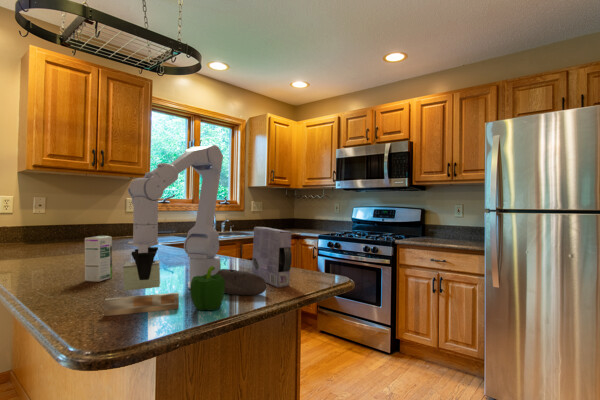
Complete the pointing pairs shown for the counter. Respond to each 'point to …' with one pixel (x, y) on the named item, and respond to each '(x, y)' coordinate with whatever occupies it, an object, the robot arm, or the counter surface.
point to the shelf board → (141, 304)
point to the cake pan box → (272, 255)
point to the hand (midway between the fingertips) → (145, 277)
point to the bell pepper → (207, 291)
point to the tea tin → (133, 279)
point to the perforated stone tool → (242, 282)
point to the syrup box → (98, 258)
